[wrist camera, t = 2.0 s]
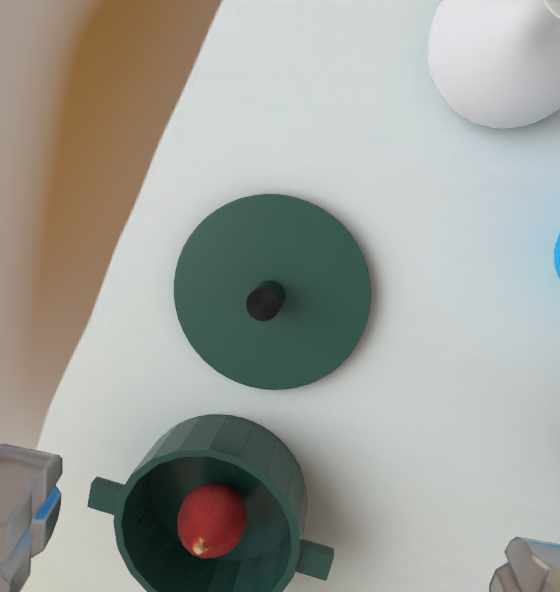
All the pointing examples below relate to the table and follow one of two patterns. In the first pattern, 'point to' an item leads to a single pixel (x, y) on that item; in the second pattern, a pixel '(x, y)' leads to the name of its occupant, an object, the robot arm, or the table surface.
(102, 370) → the table surface
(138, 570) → the pot
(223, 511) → the onion
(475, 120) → the flower in vase
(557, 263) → the mug
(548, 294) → the table surface
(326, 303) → the lid
